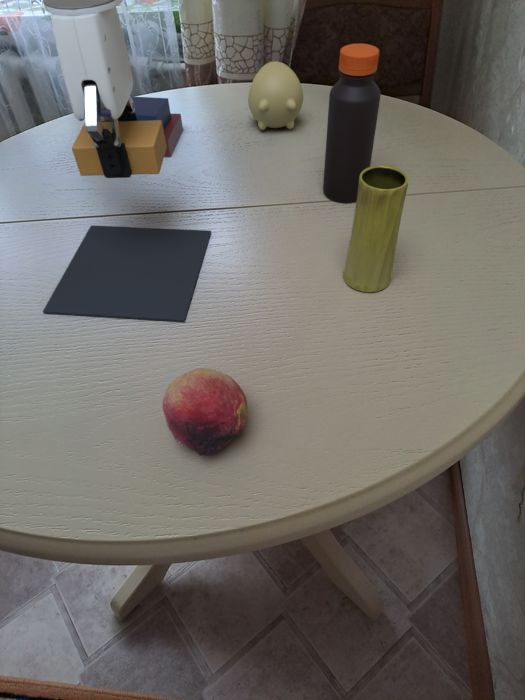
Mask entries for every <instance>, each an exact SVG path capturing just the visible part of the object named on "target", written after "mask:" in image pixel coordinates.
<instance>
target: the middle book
mask: <svg viewBox="0 0 525 700" xmlns="http://www.w3.org/2000/svg"><path fill="white" fill-rule="evenodd" d="M131 97H132V100H133V102H134V106H135V111H134V112H131V113H136V116H137V120H138V121H150V120H162V124H163V130H164V129H165V127H166V126H167V124H168V123H169V121H170V120H171V114H172V113H171V108H170V102H169V97H150V96H149V97H148V96H132V95H131ZM110 114H111V111H110V110H101V116H109V115H110Z"/></svg>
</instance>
